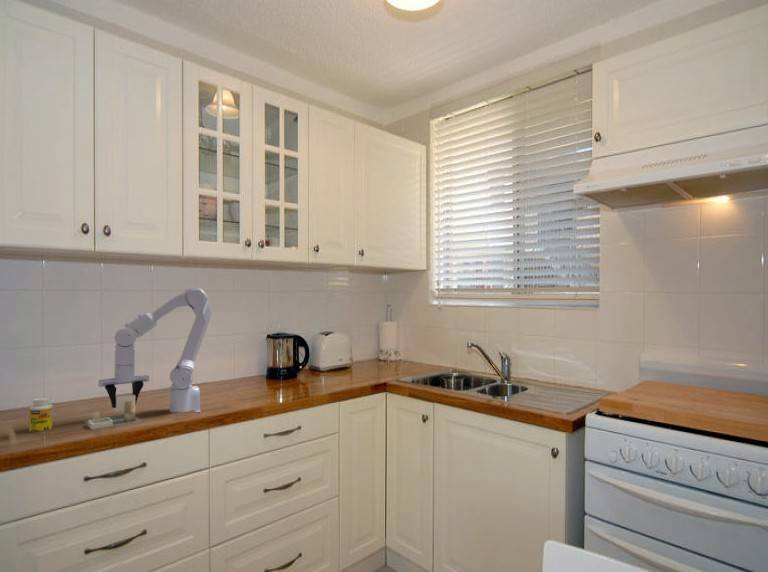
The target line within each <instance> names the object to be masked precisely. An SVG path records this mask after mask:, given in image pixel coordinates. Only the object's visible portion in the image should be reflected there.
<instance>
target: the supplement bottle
mask: <svg viewBox="0 0 768 572" xmlns="http://www.w3.org/2000/svg"><path fill="white" fill-rule="evenodd" d="M50 399H51V398H50V397H38V398H33V401H32V405H31V406H30V407H29V413H28V414H29V420H28V422H29V423H28V425H29V427H28V431H29V432H30V433H37V432H45V431H49V430H52V429H53V414H54V413H53V412H54V411H53V409H54V405H53V404H52V403H50V402H51V401H50Z"/></svg>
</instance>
